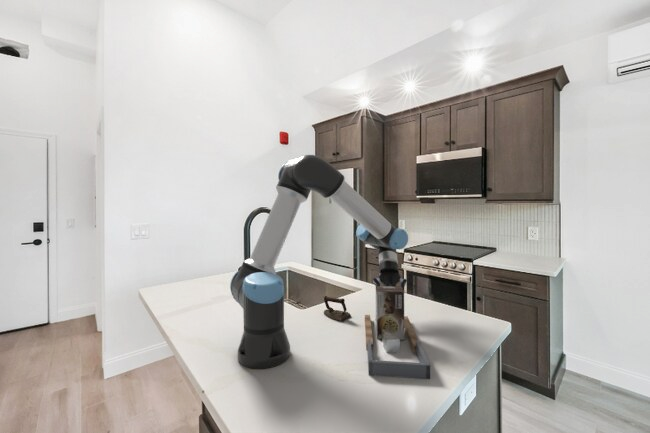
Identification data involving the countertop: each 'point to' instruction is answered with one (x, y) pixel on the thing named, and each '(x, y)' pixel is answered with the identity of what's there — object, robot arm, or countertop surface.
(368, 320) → the slot rails
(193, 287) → the countertop surface
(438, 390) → the countertop surface
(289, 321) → the countertop surface
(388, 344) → the chip
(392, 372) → the tray
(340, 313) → the clothes iron
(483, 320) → the countertop surface
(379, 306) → the cookie box
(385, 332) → the chip
